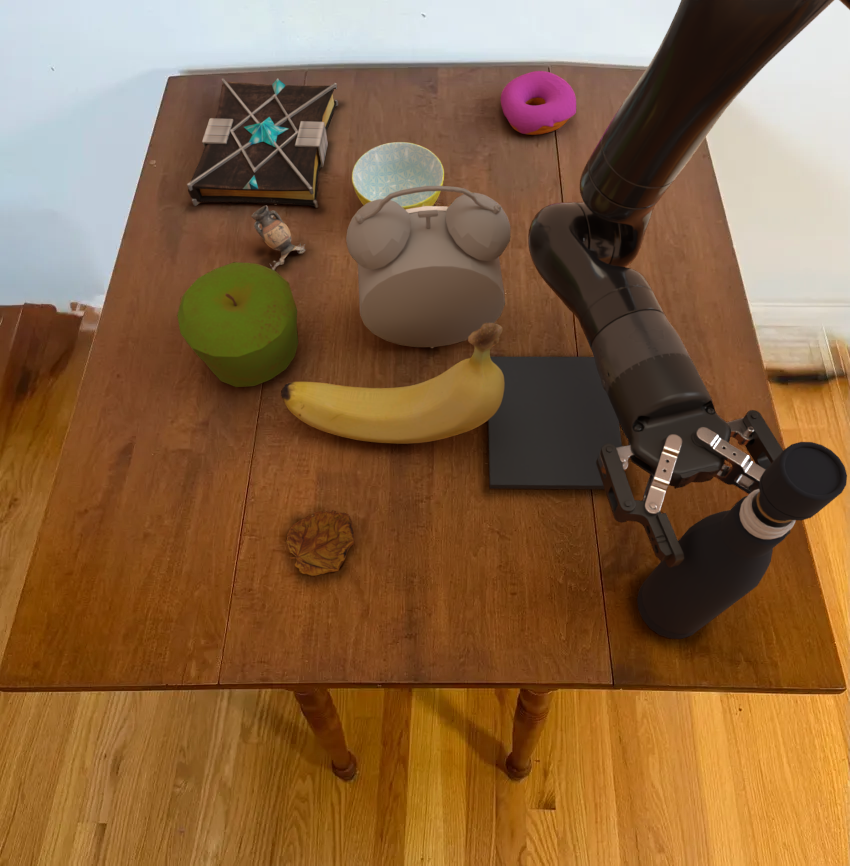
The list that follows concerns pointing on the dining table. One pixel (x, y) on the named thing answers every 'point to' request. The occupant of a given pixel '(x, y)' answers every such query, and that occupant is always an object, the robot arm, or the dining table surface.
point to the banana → (407, 401)
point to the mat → (550, 424)
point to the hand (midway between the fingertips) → (730, 550)
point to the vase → (274, 232)
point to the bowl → (398, 174)
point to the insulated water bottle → (739, 542)
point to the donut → (538, 102)
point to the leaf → (321, 542)
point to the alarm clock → (429, 267)
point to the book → (264, 144)
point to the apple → (241, 322)
